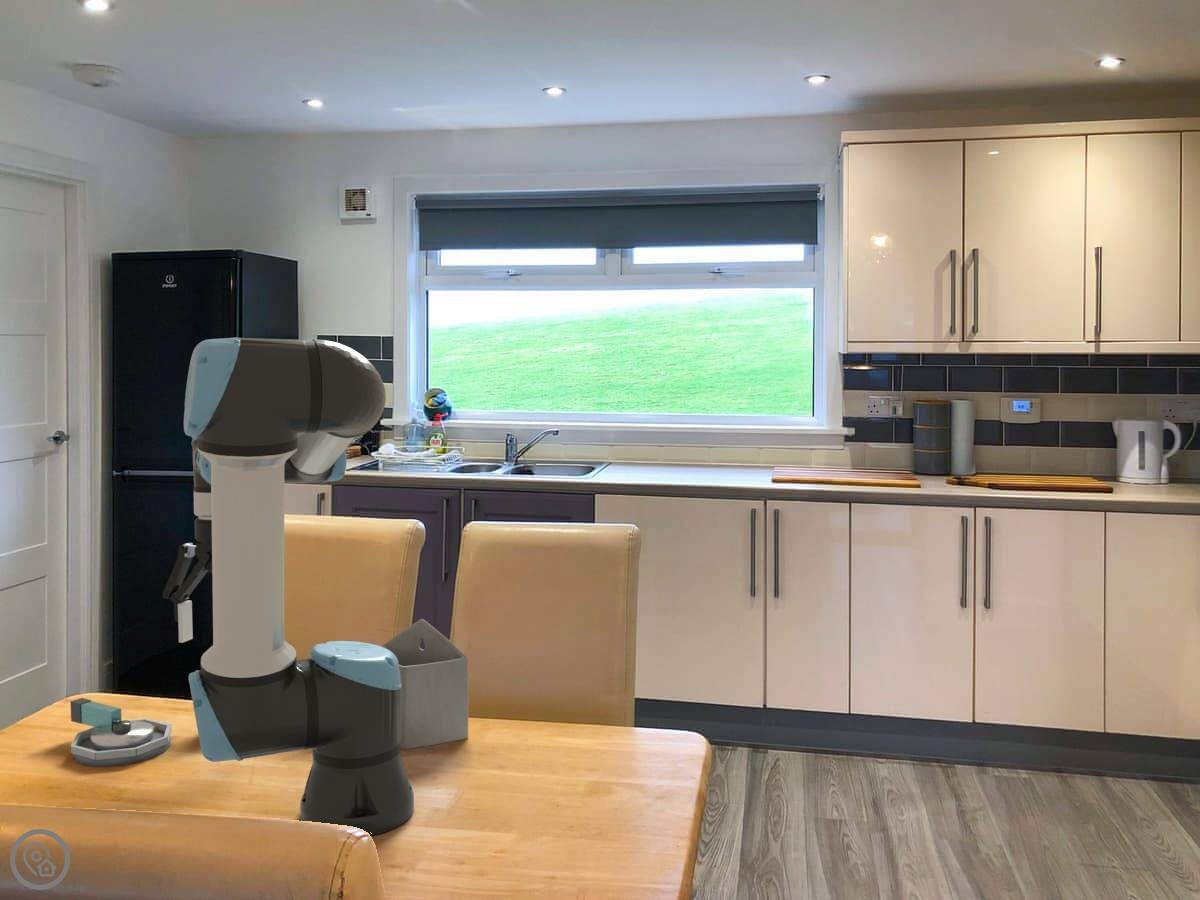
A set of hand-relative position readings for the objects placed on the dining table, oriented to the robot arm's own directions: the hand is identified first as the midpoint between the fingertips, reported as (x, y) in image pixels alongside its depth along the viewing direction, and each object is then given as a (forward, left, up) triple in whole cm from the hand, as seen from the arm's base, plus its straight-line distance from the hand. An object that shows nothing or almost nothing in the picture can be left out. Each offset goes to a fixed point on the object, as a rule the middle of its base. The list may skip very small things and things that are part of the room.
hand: (222, 643), depth 168 cm
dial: (+11, +14, -13) cm, 22 cm away
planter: (-31, -11, -15) cm, 36 cm away
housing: (+7, +14, -15) cm, 21 cm away
